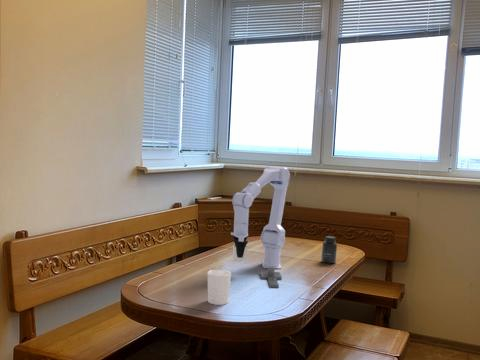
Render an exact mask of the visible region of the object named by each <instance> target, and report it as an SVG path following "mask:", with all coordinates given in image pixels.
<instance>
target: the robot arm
mask: <svg viewBox="0 0 480 360" xmlns="http://www.w3.org/2000/svg"><path fill="white" fill-rule="evenodd" d="M290 178H291V173H290V170H289V168H287V167H285V166H284V167H282V166H271V165H268V166H266V167H265V168H264V169H263V173H262V174H261V175H260V176H259V177H258V178H257V180H256V181H255V182H252V181H251V182H248V184H247V186H245V187H244V188H243V189H242V190H241V191H240V192H235V194H233V196H232V199H231V203H232V205H233V206H232V207H233V208H232V209H233V211H234V218H233V232H230V235H231V236H233V244H235V246H236V251H237V257H238V258H243V254H244V250H245V247H246V245H247V244H248V242H249V241H248V240H247V239H248V237H249V215H250V207H251V206H252V205H253V202H254V200H255V199H256V198H257V197H258V196H259V194H261V192H262V188H264V187H265V186H266V185H267V184H270V186H272V187H273V188H274V191H273V197H272V203H271V210H270V214H269V215H270V216H269V221H268V224H266V225H265V226H263V230H262V231H261V234H260V241H261V244H262V246H263V247H264V249H263V261H261V265H262V268H263V269H268V266H274V267H275V269H282V265H281V248H283V246H284V245H285V242H286V230H285V228H283V226H282V219H283V214H284V207H285V203H286V196H287V195H286V194H287V189H288V187H289V184H290ZM247 246H248V245H247Z"/></svg>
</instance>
